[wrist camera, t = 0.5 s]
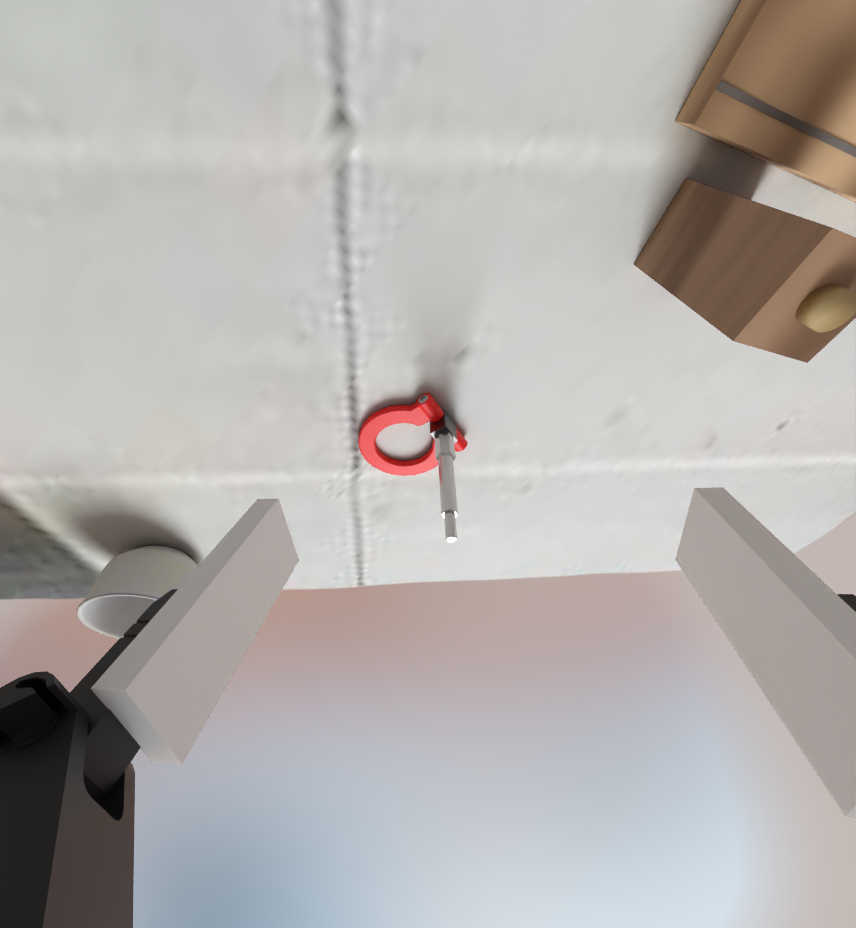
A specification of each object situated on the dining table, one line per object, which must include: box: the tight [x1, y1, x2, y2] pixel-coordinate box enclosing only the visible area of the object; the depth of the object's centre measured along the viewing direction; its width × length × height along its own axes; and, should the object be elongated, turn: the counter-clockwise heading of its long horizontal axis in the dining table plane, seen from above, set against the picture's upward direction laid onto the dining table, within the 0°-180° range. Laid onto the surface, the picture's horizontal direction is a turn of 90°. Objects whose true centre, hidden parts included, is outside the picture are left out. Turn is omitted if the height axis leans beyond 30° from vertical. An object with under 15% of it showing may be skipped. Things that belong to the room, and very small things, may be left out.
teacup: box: [77, 546, 198, 639], centre depth 46 cm, size 14×11×8 cm
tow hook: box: [359, 393, 467, 542], centre depth 32 cm, size 8×13×9 cm
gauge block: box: [634, 179, 856, 363], centre depth 21 cm, size 5×5×12 cm
